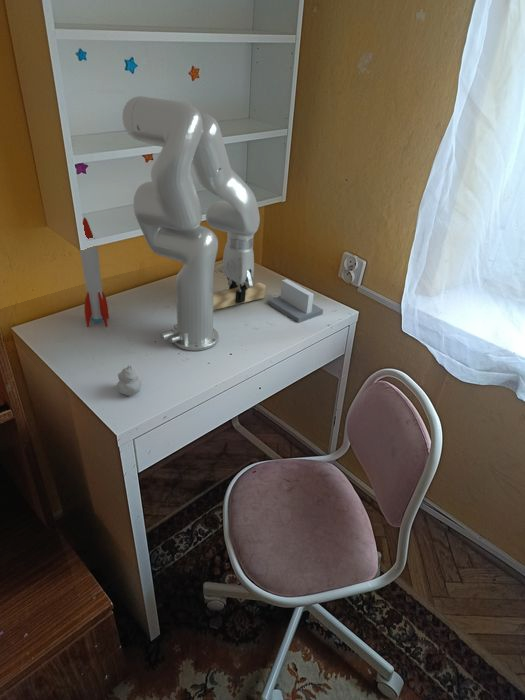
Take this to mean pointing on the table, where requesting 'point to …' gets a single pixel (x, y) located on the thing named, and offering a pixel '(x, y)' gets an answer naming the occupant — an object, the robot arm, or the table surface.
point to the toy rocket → (93, 283)
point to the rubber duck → (128, 381)
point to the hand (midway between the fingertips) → (236, 299)
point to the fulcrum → (295, 302)
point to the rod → (229, 296)
